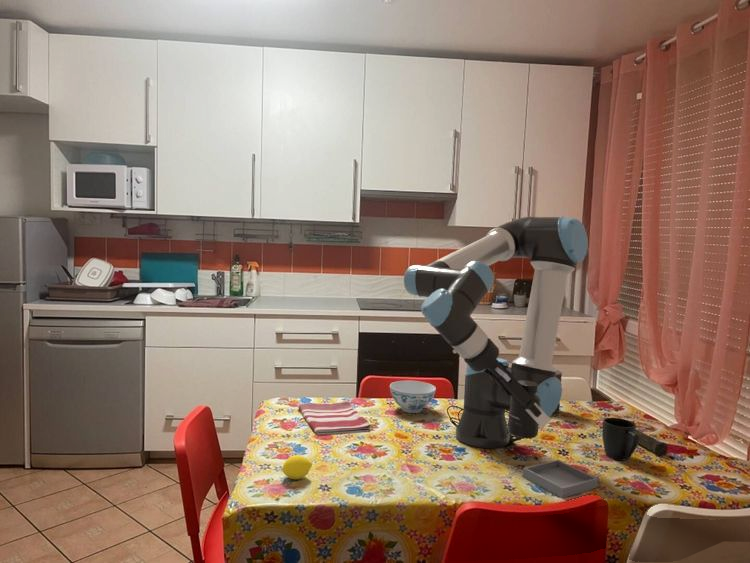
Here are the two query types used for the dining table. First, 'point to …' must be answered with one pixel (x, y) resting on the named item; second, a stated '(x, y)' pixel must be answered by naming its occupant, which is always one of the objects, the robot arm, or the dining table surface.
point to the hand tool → (652, 444)
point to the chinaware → (412, 395)
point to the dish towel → (333, 418)
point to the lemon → (296, 467)
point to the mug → (619, 438)
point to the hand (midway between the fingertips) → (538, 418)
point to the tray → (560, 478)
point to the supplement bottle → (523, 414)
